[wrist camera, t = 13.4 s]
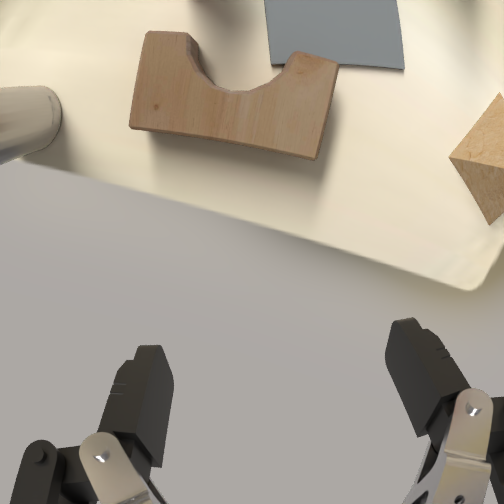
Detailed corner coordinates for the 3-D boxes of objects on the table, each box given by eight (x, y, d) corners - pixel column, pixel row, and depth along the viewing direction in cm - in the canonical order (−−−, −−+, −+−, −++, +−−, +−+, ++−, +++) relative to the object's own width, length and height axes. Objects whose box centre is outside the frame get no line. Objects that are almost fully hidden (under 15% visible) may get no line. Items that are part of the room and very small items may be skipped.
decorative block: (328, 67, 31) (160, 38, 29) (341, 62, 26) (144, 29, 24) (307, 153, 36) (144, 125, 34) (316, 163, 31) (126, 130, 29)
